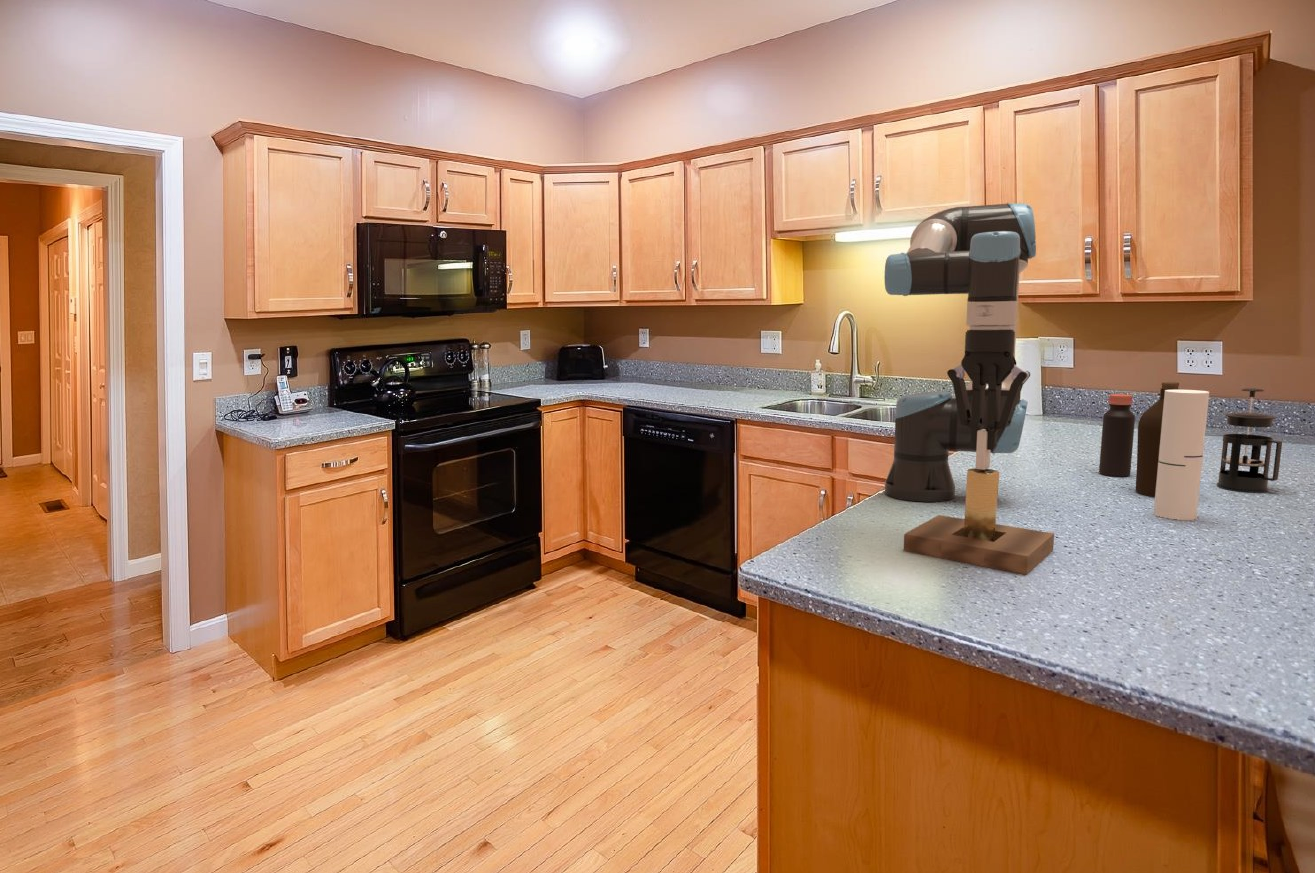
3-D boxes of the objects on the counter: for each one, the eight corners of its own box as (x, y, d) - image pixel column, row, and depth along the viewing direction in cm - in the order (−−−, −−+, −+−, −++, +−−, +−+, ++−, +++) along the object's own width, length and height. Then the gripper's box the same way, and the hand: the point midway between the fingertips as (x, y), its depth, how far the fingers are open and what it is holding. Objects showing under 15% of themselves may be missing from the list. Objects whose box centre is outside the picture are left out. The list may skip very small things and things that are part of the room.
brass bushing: (958, 550, 131) (963, 471, 129) (967, 543, 135) (972, 466, 132) (988, 556, 128) (994, 475, 125) (997, 549, 132) (1003, 470, 129)
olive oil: (1160, 500, 164) (1171, 385, 160) (1120, 489, 174) (1130, 381, 170) (1201, 497, 166) (1212, 383, 162) (1159, 487, 176) (1169, 379, 172)
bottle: (1119, 478, 186) (1126, 397, 183) (1092, 473, 192) (1099, 395, 188) (1136, 475, 189) (1143, 395, 186) (1109, 470, 195) (1115, 393, 192)
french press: (1204, 486, 177) (1214, 387, 173) (1227, 481, 181) (1237, 385, 177) (1263, 496, 166) (1275, 392, 163) (1285, 491, 170) (1297, 389, 167)
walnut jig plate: (903, 550, 132) (904, 533, 131) (937, 530, 144) (938, 514, 143) (1026, 574, 119) (1027, 556, 118) (1053, 550, 131) (1054, 533, 130)
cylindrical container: (1203, 521, 147) (1216, 393, 143) (1163, 519, 149) (1174, 393, 145) (1186, 511, 154) (1198, 389, 150) (1147, 510, 156) (1158, 389, 152)
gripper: (942, 328, 127) (936, 466, 130) (1025, 328, 118) (1016, 476, 122) (958, 327, 132) (951, 460, 136) (1039, 327, 124) (1029, 469, 128)
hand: (982, 467), depth 129 cm, fingers closed
